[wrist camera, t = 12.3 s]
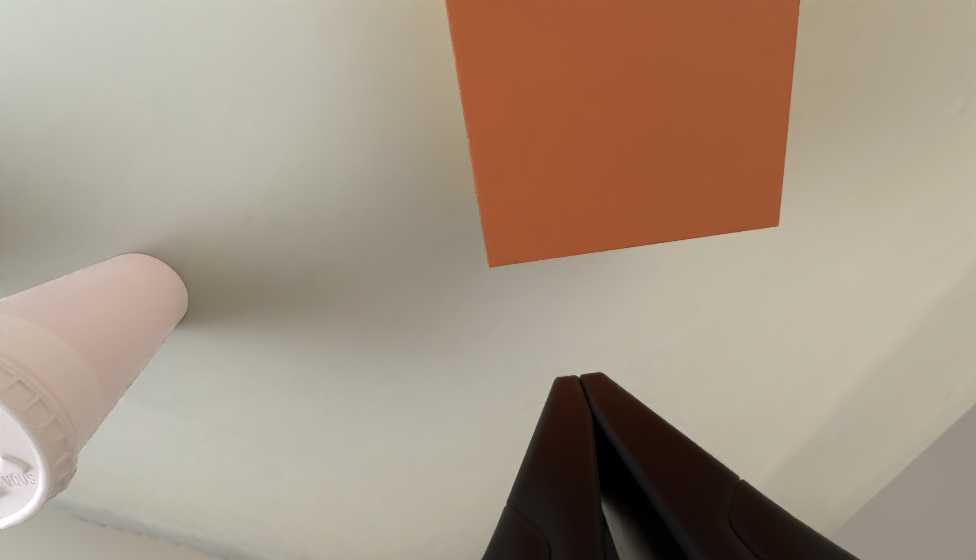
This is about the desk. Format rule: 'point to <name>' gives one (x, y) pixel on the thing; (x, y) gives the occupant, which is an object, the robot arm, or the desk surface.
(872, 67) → the desk surface
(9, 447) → the smoothie
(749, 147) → the lunchbox lid
